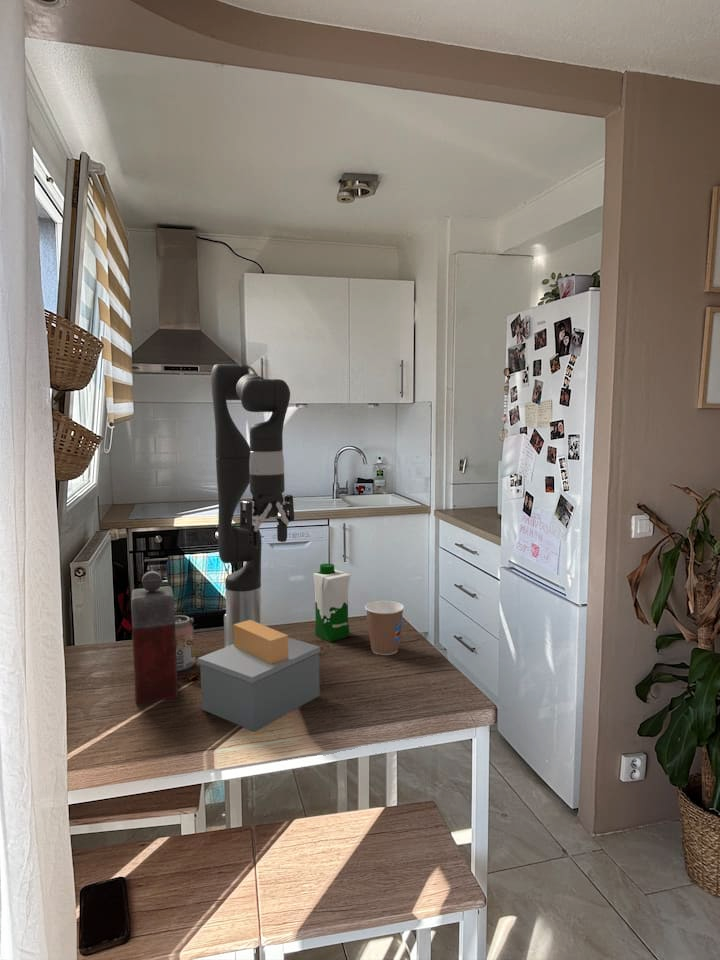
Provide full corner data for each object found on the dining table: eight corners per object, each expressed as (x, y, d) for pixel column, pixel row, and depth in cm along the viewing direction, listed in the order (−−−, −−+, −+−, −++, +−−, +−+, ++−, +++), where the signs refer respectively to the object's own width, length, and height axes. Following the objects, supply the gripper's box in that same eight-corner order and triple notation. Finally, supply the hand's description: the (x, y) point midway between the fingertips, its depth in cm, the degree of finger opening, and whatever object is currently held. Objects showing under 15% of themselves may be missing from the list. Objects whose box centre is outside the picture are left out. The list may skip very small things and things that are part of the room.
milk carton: (335, 628, 190) (334, 561, 187) (354, 636, 183) (354, 567, 180) (310, 635, 184) (309, 566, 182) (329, 644, 177) (328, 572, 175)
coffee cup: (405, 658, 167) (405, 612, 166) (364, 657, 168) (364, 612, 166) (403, 643, 178) (403, 600, 176) (365, 643, 178) (365, 600, 176)
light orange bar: (233, 646, 145) (233, 624, 144) (251, 641, 148) (250, 619, 147) (270, 664, 135) (270, 640, 134) (288, 658, 138) (287, 635, 137)
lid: (198, 663, 138) (197, 658, 138) (266, 636, 154) (266, 631, 154) (252, 683, 128) (252, 677, 128) (319, 651, 144) (319, 646, 144)
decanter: (175, 677, 156) (171, 563, 153) (177, 697, 145) (173, 574, 142) (136, 682, 153) (130, 566, 150) (135, 703, 143) (129, 578, 139)
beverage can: (159, 660, 166) (157, 615, 165) (193, 656, 169) (191, 611, 168) (161, 674, 158) (159, 626, 156) (197, 669, 161) (195, 622, 159)
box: (201, 709, 140) (200, 664, 138) (268, 678, 155) (267, 637, 154) (253, 731, 130) (252, 683, 129) (319, 695, 146) (318, 652, 145)
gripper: (254, 475, 134) (256, 552, 136) (301, 469, 145) (302, 541, 147) (230, 473, 139) (232, 548, 141) (277, 468, 150) (279, 537, 152)
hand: (268, 544), depth 144 cm, fingers open, 8 cm apart
